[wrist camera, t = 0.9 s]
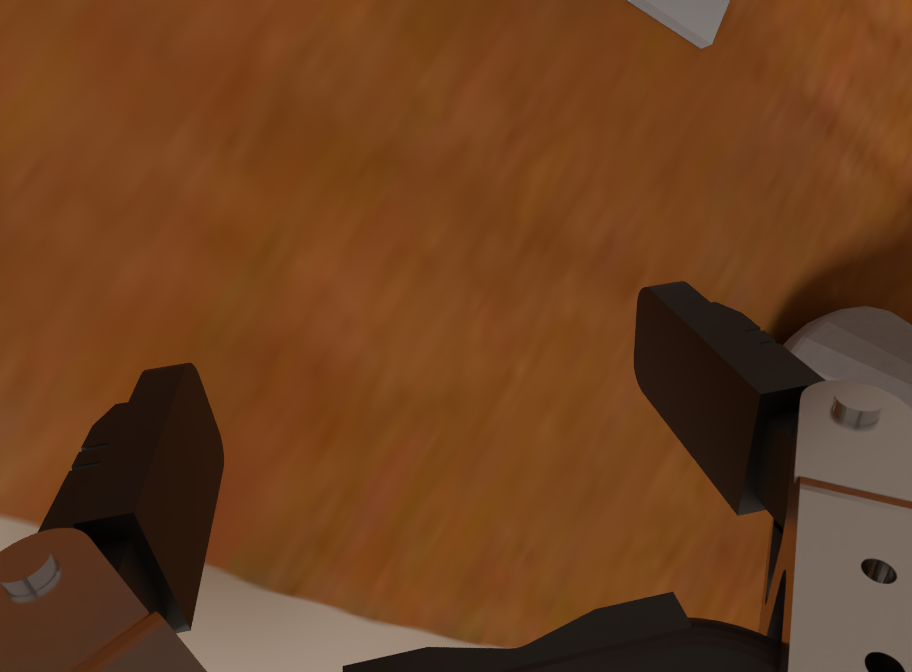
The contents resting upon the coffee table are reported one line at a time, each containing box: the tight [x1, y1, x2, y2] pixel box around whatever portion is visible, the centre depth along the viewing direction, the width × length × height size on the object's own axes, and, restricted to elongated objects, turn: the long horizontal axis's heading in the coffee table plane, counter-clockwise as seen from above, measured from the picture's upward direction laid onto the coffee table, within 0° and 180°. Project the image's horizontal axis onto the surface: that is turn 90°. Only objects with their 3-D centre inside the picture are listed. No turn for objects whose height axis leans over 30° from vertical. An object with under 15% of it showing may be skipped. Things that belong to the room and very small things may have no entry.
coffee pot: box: [783, 306, 912, 410], centre depth 30 cm, size 21×12×15 cm, turn 147°
